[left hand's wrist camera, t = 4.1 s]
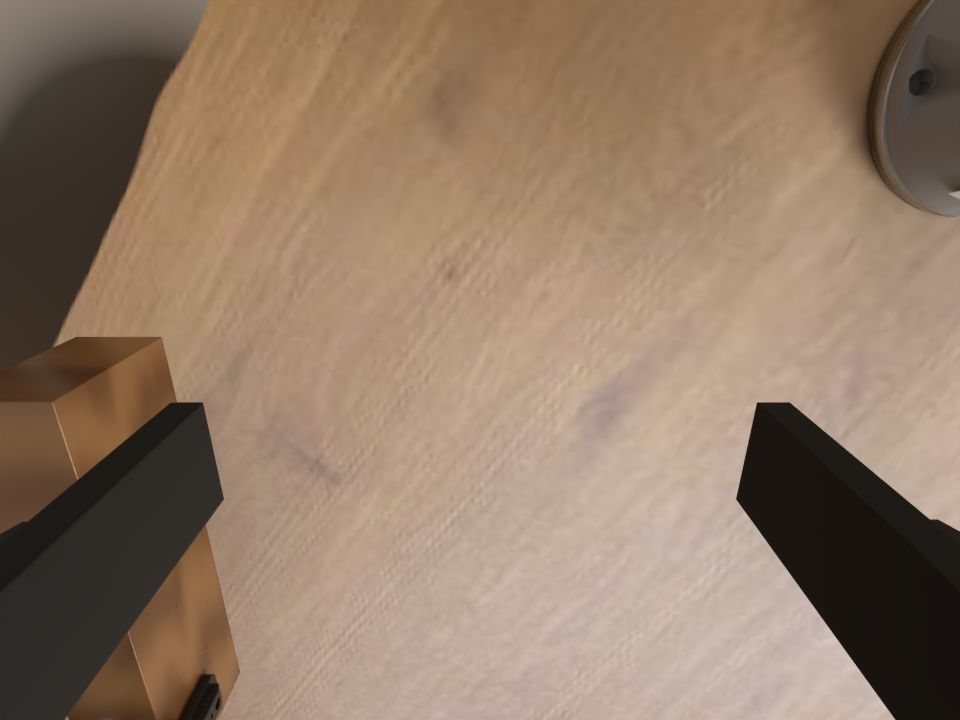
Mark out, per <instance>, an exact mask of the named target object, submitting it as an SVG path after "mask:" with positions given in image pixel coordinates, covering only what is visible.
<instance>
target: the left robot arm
mask: <svg viewBox="0 0 960 720" xmlns="http://www.w3.org/2000/svg"><path fill="white" fill-rule="evenodd" d="M868 128H869V140H870V145H871V151H872V154H873V158H874V161H875V163H876V166H877V168H878V170H879V172H880V174H881V176H882V177H883V179H884V181H885V182H886V183H887V185H888V186H889V187H890V189H891V190H892V191H893V192H894V193H895V194H896V195H897V196H898V197H900V198H901V199H902V200H904V201H905V202H906V203H908V204H910V205H911V206H913V207H915V208H917V209H920V210H922V211H924V212H928V213H931V214H935V215H941V216H948V217H954V218H960V0H919V1H918V2H917V3H916V5H915V6H914V7H913V9H912V10H911V11H910V12H909V14H908V15H907V16H906V18H905V19H904V21H903V22H902V24H901V25H900V27H899V28H898V30H897V31H896V33H895V35H894V37H893V39H892V40H891V42H890V44H889V46H888V48H887V50H886V52H885V54H884V56H883V59H882V61H881V64H880V66H879V69H878V72H877V75H876V78H875V82H874V85H873V89H872V94H871V99H870V107H869V122H868ZM223 500H224V498H223V493H222V489H221V484H220V479H219V475H218V470H217V466H216V461H215V456H214V452H213V447H212V442H211V438H210V433H209V429H208V424H207V419H206V415H205V410H204V406H203V403H169V404H168V405H167V406H166V407H165V408H163V409H162V410H161V411H160V412H159V413H157V414H156V415H155V416H154V417H153V418H151V419H150V420H149V421H148V422H147V423H145V424H144V425H143V426H142V427H141V428H139V429H138V430H137V431H136V432H135V433H133V434H132V435H131V436H130V437H129V438H127V439H126V440H125V441H124V442H123V443H121V444H120V445H119V446H118V447H117V448H115V449H114V450H113V451H112V452H111V453H109V454H108V455H107V456H106V457H105V458H103V459H102V460H101V461H100V462H99V463H97V464H96V465H95V466H94V467H93V468H91V469H90V470H89V471H88V472H87V473H85V474H84V475H83V476H82V477H81V478H79V479H78V480H77V481H76V482H75V483H73V484H72V485H71V486H70V487H69V488H67V489H66V490H65V491H64V492H63V493H61V494H60V495H59V496H58V497H57V498H55V499H54V500H53V501H52V502H51V503H49V504H48V505H47V506H46V507H45V508H43V509H42V510H41V511H40V512H39V513H37V514H36V515H35V516H34V517H33V518H32V519H30V520H29V521H23V522H21V523H19V524H17V525H15V526H14V527H12V528H10V529H8V530H6V531H5V532H3V533H1V534H0V720H65V718H66V717H67V716H68V714H69V713H70V711H71V710H72V709H73V707H74V706H75V704H76V703H77V702H78V700H79V699H80V698H81V696H82V695H83V693H84V692H85V691H86V689H87V688H88V686H89V685H90V684H91V682H92V681H93V680H94V678H95V677H96V675H97V674H98V673H99V671H100V670H101V668H102V667H103V666H104V664H105V663H106V662H107V660H108V659H109V657H110V656H111V655H112V653H113V652H114V650H115V649H116V648H117V646H118V645H119V644H120V642H121V641H122V639H123V638H124V637H125V635H126V634H127V632H128V631H129V630H130V628H131V627H132V626H133V624H134V623H135V621H136V620H137V619H138V617H139V616H140V614H141V613H142V612H143V610H144V609H145V608H146V606H147V605H148V603H149V602H150V601H151V599H152V598H153V596H154V595H155V594H156V592H157V591H158V590H159V588H160V587H161V585H162V584H163V583H164V581H165V580H166V578H167V577H168V576H169V574H170V573H171V572H172V570H173V569H174V567H175V566H176V565H177V563H178V562H179V560H180V559H181V558H182V556H183V555H184V554H185V552H186V551H187V549H188V548H189V547H190V545H191V544H192V542H193V541H194V540H195V538H196V537H197V536H198V534H199V533H200V531H201V530H202V529H203V527H204V526H205V524H206V523H207V522H208V520H209V519H210V518H211V516H212V515H213V513H214V512H215V511H216V509H217V508H218V506H219V505H220V504H221V502H222V501H223ZM736 500H737V501H738V502H739V504H740V505H741V506H742V508H743V509H744V511H745V512H746V513H747V515H748V516H749V518H750V519H751V520H752V522H753V523H754V524H755V526H756V527H757V529H758V530H759V531H760V533H761V534H762V536H763V537H764V538H765V540H766V541H767V542H768V544H769V545H770V547H771V548H772V549H773V551H774V552H775V554H776V555H777V556H778V558H779V559H780V560H781V562H782V563H783V565H784V566H785V567H786V569H787V570H788V572H789V573H790V574H791V576H792V577H793V578H794V580H795V581H796V583H797V584H798V585H799V587H800V588H801V590H802V591H803V592H804V594H805V595H806V596H807V598H808V599H809V601H810V602H811V603H812V605H813V606H814V608H815V609H816V610H817V612H818V613H819V614H820V616H821V617H822V619H823V620H824V621H825V623H826V624H827V626H828V627H829V628H830V630H831V631H832V632H833V634H834V635H835V637H836V638H837V639H838V641H839V642H840V644H841V645H842V646H843V648H844V649H845V650H846V652H847V653H848V655H849V656H850V657H851V659H852V660H853V662H854V663H855V664H856V666H857V667H858V668H859V670H860V671H861V673H862V674H863V675H864V677H865V678H866V680H867V681H868V682H869V684H870V685H871V686H872V688H873V689H874V691H875V692H876V693H877V695H878V696H879V698H880V699H881V700H882V702H883V703H884V704H885V706H886V707H887V709H888V710H889V711H890V713H891V714H892V716H893V717H894V718H895V720H960V531H958V530H956V529H954V528H952V527H950V526H949V525H947V524H945V523H943V522H941V521H939V520H930V519H928V518H927V517H926V516H925V515H924V514H922V513H921V512H920V511H919V510H918V509H917V508H915V507H914V506H913V505H912V504H911V503H909V502H908V501H907V500H906V499H905V498H903V497H902V496H901V495H900V494H899V493H897V492H896V491H895V490H894V489H893V488H891V487H890V486H889V485H888V484H887V483H885V482H884V481H883V480H882V479H881V478H879V477H878V476H877V475H876V474H875V473H873V472H872V471H871V470H870V469H869V468H867V467H866V466H865V465H864V464H863V463H861V462H860V461H859V460H858V459H857V458H855V457H854V456H853V455H852V454H851V453H849V452H848V451H847V450H846V449H845V448H843V447H842V446H841V445H840V444H839V443H837V442H836V441H835V440H834V439H833V438H831V437H830V436H829V435H828V434H827V433H825V432H824V431H823V430H822V429H821V428H819V427H818V426H817V425H816V424H815V423H813V422H812V421H811V420H810V419H809V418H807V417H806V416H805V415H804V414H803V413H801V412H800V411H799V410H798V409H797V408H795V407H794V406H793V405H792V404H791V403H757V406H756V410H755V415H754V419H753V424H752V429H751V433H750V438H749V442H748V447H747V452H746V456H745V461H744V466H743V470H742V475H741V479H740V484H739V489H738V493H737V498H736Z"/></svg>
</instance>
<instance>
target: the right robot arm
mask: <svg viewBox="0 0 960 720" xmlns="http://www.w3.org/2000/svg"><path fill="white" fill-rule="evenodd" d="M222 701H223V698H222V694H221V690H220V686H219V683H217V679H216V676H215V674H203V675H202V676H201V678H200V680H199V682H198V684H197V686H196V688H195V690H194V691H193V693H192V695H191V697H190V699H189V701H188V703H187V705H186V707H185V708H184V710H183V712H182V714H181V716H180V718H179V720H216V718H217V716H218V714H219V712H220V710H221V707H222Z"/></svg>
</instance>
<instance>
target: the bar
mask: <svg viewBox="0 0 960 720" xmlns="http://www.w3.org/2000/svg"><path fill="white" fill-rule="evenodd" d="M169 403H177V400H176V396H175V392H174V387H173V383H172V379H171V375H170V370H169V366H168V362H167V358H166V353H165V349H164V345H163V340H162V337H75V338H73V339H71V340H69V341H67V342H64V343H62V344H60V345H58V346H56V347H54V348H52V349H49V350H47V351H45V352H43V353H41V354H39V355H37V356H34V357H32V358H30V359H28V360H26V361H24V362H22V363H19V364H17V365H15V366H13V367H11V368H9V369H7V370H4V371H2V372H0V534H1V533H3V532H5V531H6V530H8V529H10V528H12V527H14V526H15V525H17V524H19V523H21V522H23V521H29V520H30V519H32V518H33V517H34V516H35V515H36V514H37V513H39V512H40V511H41V510H42V509H43V508H45V507H46V506H47V505H48V504H49V503H51V502H52V501H53V500H54V499H55V498H57V497H58V496H59V495H60V494H61V493H63V492H64V491H65V490H66V489H67V488H69V487H70V486H71V485H72V484H73V483H75V482H76V481H77V480H78V479H79V478H81V477H82V476H83V475H84V474H85V473H87V472H88V471H89V470H90V469H91V468H93V467H94V466H95V465H96V464H97V463H99V462H100V461H101V460H102V459H103V458H105V457H106V456H107V455H108V454H109V453H111V452H112V451H113V450H114V449H115V448H117V447H118V446H119V445H120V444H121V443H123V442H124V441H125V440H126V439H127V438H129V437H130V436H131V435H132V434H133V433H135V432H136V431H137V430H138V429H139V428H141V427H142V426H143V425H144V424H145V423H147V422H148V421H149V420H150V419H151V418H153V417H154V416H155V415H156V414H157V413H159V412H160V411H161V410H162V409H163V408H165V407H166V406H167V405H168V404H169ZM239 673H240V670H239V665H238V661H237V657H236V653H235V648H234V644H233V640H232V635H231V631H230V627H229V623H228V618H227V614H226V610H225V606H224V601H223V597H222V593H221V588H220V584H219V580H218V576H217V571H216V567H215V563H214V559H213V554H212V550H211V546H210V541H209V537H208V533H207V529H206V524H205V526H204V527H203V529H202V530H201V531H200V533H199V534H198V536H197V537H196V538H195V540H194V541H193V542H192V544H191V545H190V547H189V548H188V549H187V551H186V552H185V554H184V555H183V556H182V558H181V559H180V560H179V562H178V563H177V565H176V566H175V567H174V569H173V570H172V572H171V573H170V574H169V576H168V577H167V578H166V580H165V581H164V583H163V584H162V585H161V587H160V588H159V590H158V591H157V592H156V594H155V595H154V596H153V598H152V599H151V601H150V602H149V603H148V605H147V606H146V608H145V609H144V610H143V612H142V613H141V614H140V616H139V617H138V619H137V620H136V621H135V623H134V624H133V626H132V627H131V628H130V630H129V631H128V632H127V634H126V635H125V637H124V638H123V639H122V641H121V642H120V644H119V645H118V646H117V648H116V649H115V650H114V652H113V653H112V655H111V656H110V657H109V659H108V660H107V662H106V663H105V664H104V666H103V667H102V668H101V670H100V671H99V673H98V674H97V675H96V677H95V678H94V680H93V681H92V682H91V684H90V685H89V686H88V688H87V689H86V691H85V692H84V693H83V695H82V696H81V698H80V699H79V700H78V702H77V703H76V704H75V706H74V707H73V709H72V710H71V711H70V713H69V714H68V718H69V720H179V718H180V716H181V714H182V712H183V710H184V708H185V707H186V705H187V703H188V701H189V699H190V697H191V695H192V693H193V691H194V690H195V688H196V686H197V684H198V682H199V680H200V678H201V676H202V675H203V674H215V676H216V679H217V683H219V686H220V690H221V694H222V698H223V701H222V707H221V710H220V712H219V714H218V716H217V718H216V720H218V719H219V717H220V715H221V713H222V710H223V708H224V706H225V704H226V702H227V699H228V697H229V695H230V693H231V691H232V689H233V686H234V684H235V682H236V680H237V678H238V675H239Z"/></svg>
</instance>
